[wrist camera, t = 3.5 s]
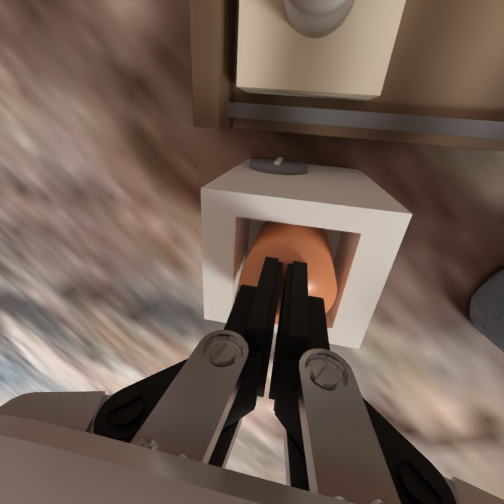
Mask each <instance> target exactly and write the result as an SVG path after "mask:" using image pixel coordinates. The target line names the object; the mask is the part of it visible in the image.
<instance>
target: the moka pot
mask: <svg viewBox="0 0 504 504" xmlns="http://www.w3.org/2000/svg"><path fill="white" fill-rule="evenodd" d="M469 310H470V318H471V323H472V325H473V326H474V327H475V328H476V329H477V330H479V331H480V332H481V333H482V334H483V335H485V336H486V337H487V338H488V339H489V340H490V341H492V342H493V343H494V344H495V345H496V346H497V347H499V348H500V349H501V350H502V351H503V352H504V269H502V270H501V271H499V272H497V273H496V274H494V275H493V276H491V277H490V278H489V279H488V280H487V281H486V282H485V283H484V284H483V285H482V286H481V287H480V288H479V289H478V290H477V291H476V292H475V293H474V294H473V295H472V297H471V301H470V308H469Z"/></svg>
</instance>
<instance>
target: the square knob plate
mask: <svg viewBox="0 0 504 504" xmlns="http://www.w3.org/2000/svg"><path fill="white" fill-rule="evenodd" d="M405 2H406V0H239V24H238V53H237V82H236V87H238V88H240V89H242V90H244V91H246V92H247V93H257V94H272V95H287V96H302V97H317V98H332V99H347V100H362V101H367V100H370V99H373V98H375V97H378V96H380V95H381V91H382V88H383V84H384V80H385V76H386V73H387V69H388V65H389V62H390V58H391V54H392V50H393V47H394V43H395V39H396V36H397V32H398V28H399V24H400V21H401V17H402V13H403V10H404V6H405Z"/></svg>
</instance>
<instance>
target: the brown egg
mask: <svg viewBox="0 0 504 504" xmlns="http://www.w3.org/2000/svg"><path fill="white" fill-rule="evenodd" d="M265 257H272V258H279V262H282V263H283V270H282V277H281V284H280V291H279V298H278V305H277V312H276V319H275V324H278V321H279V314H280V308H281V302H282V295H283V289H284V283H285V277H286V271H287V265H288V264H293V261H299V262H305V263H307V270H308V296H314V297H320V298H323V299H324V304H325V313H327V312H328V311H329V310H330V308H331V307H332V305H333V304H334V301H335V299H336V294H337V283H336V277H335V272H334V267H333V262H332V257H331V252H330V247H329V241H328V237H327V234H326V232H325V230H324V229H323V228H317V227H309V226H302V225H295V224H287V223H280V222H273V221H267V222H265V223H264V225H263V226H262V227H261V229H260V230H259V232H258V234H257V237H256V239H255V241H254V243H253V246H252V248H251V250H250V253H249V255H248V257H247V260H246V262H245V264H244V266H243V269H242V271H241V274H240V279H239V287H240V286H241V285H242V284H243V285H249V286H255V287H257V285H258V281H259V278H260V275H261V271H262V268H263V264H264V261H265Z"/></svg>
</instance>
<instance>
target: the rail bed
mask: <svg viewBox="0 0 504 504" xmlns="http://www.w3.org/2000/svg"><path fill="white" fill-rule="evenodd" d="M189 7H190V35H191V63H192V91H193V119H194V126H197V127H208V128H241V129H253V130H264V131H276V132H288V133H299V134H311V135H322V136H334V137H345V138H357V139H368V140H380V141H391V142H403V143H415V144H426V145H438V146H449V147H461V148H472V149H484V150H495V151H504V0H406V2H405V6H404V10H403V13H402V17H401V21H400V24H399V28H398V32H397V36H396V39H395V43H394V47H393V50H392V54H391V58H390V62H389V65H388V69H387V73H386V76H385V80H384V84H383V88H382V91H381V95H380V96H378V97H375V98H373V99H370V100H367V101H362V100H347V99H332V98H317V97H302V96H287V95H272V94H257V93H247V92H246V91H244V90H242V89H240V88H238V87H236V82H237V53H238V24H239V0H189Z"/></svg>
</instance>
